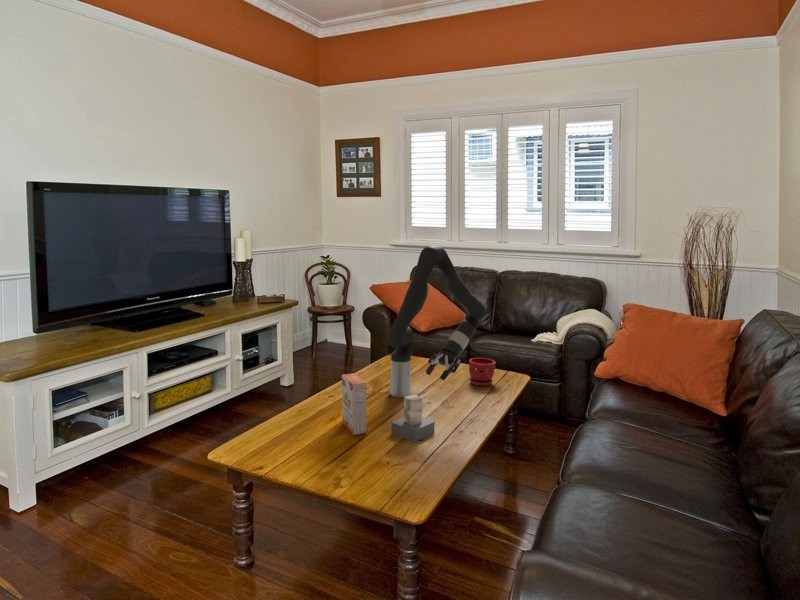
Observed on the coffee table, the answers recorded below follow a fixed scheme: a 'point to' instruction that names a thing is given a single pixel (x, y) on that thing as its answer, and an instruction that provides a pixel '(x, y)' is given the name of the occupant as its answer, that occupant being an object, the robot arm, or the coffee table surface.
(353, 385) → the cracker box
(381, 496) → the coffee table surface
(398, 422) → the flat gray square
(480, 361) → the plant pot
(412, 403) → the taupe block
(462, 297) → the robot arm
